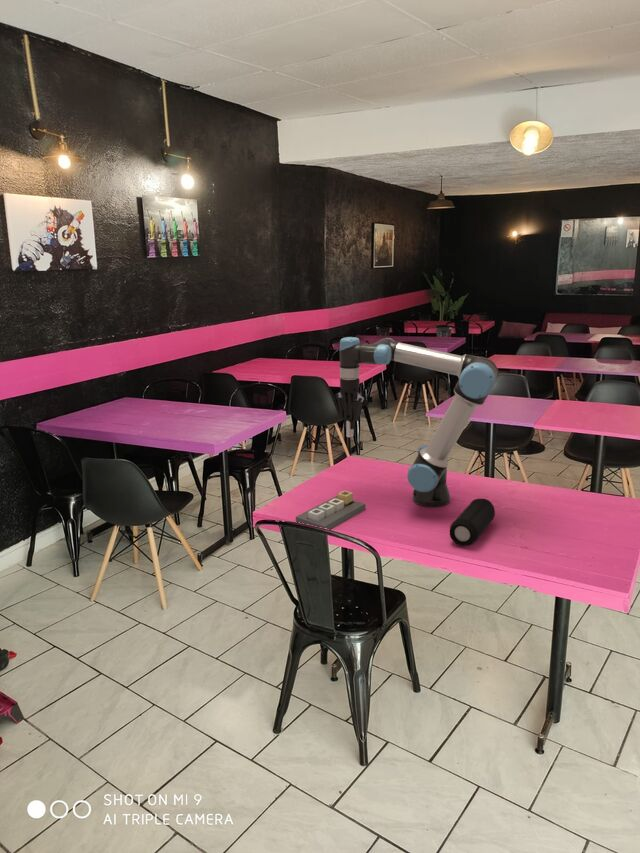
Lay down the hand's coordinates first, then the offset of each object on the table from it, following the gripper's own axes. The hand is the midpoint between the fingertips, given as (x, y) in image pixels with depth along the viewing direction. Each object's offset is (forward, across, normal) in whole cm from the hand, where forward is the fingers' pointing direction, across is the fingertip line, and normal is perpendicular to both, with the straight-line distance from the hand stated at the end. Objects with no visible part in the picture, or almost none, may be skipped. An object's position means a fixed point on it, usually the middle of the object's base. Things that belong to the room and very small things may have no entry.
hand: (349, 436), depth 247 cm
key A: (+27, -2, +18) cm, 32 cm away
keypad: (+28, -2, +15) cm, 32 cm away
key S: (+25, -2, +6) cm, 26 cm away
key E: (+27, -2, +24) cm, 36 cm away
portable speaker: (+29, -52, -4) cm, 60 cm away
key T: (+27, -2, +12) cm, 29 cm away
